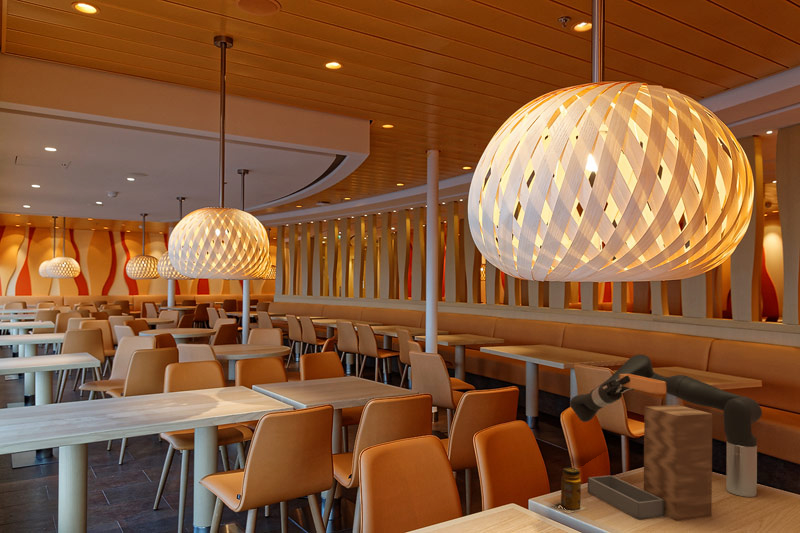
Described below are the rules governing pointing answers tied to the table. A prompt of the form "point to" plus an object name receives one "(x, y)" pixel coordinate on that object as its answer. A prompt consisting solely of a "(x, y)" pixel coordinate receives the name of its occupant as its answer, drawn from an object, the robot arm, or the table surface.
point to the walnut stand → (679, 460)
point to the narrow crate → (645, 384)
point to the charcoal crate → (626, 497)
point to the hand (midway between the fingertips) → (634, 378)
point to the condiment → (570, 491)
